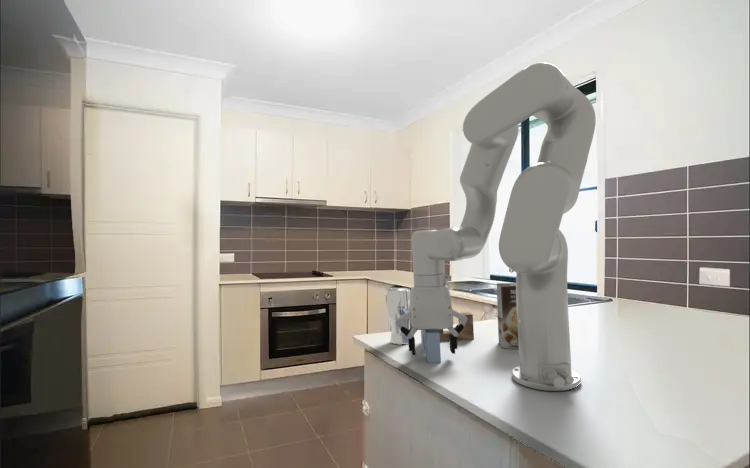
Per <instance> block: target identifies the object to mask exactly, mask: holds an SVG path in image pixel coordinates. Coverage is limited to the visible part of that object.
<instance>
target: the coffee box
mask: <svg viewBox="0 0 750 468" xmlns="http://www.w3.org/2000/svg"><path fill="white" fill-rule="evenodd" d="M496 302H497V305H496V306H497V330H498V344H499V345H500V346H501V347H502V348H503V349H505V350H507V349H511V350H512V349H519V343H518V324H517V305H516V282H507V283H506V282H505V283H499V282H498V283H497V282H496Z"/></svg>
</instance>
